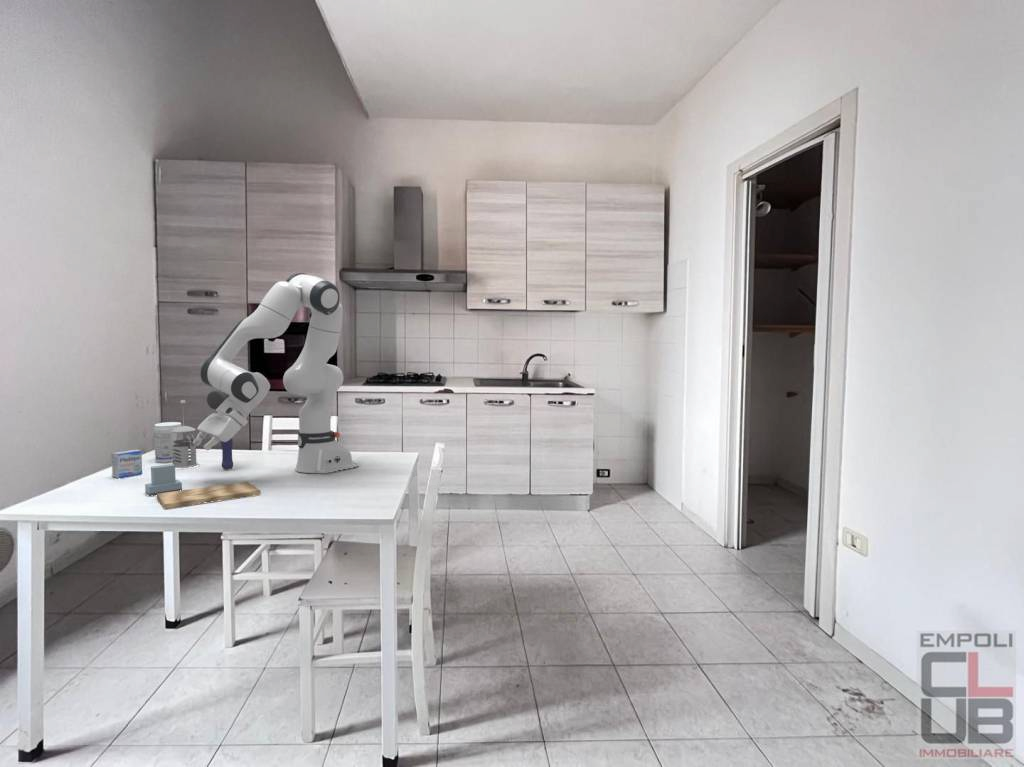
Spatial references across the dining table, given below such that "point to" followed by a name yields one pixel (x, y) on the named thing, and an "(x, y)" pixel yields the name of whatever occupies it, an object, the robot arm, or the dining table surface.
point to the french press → (184, 447)
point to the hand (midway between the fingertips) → (199, 446)
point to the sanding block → (163, 480)
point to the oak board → (207, 494)
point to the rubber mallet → (214, 402)
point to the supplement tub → (165, 441)
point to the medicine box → (126, 463)
